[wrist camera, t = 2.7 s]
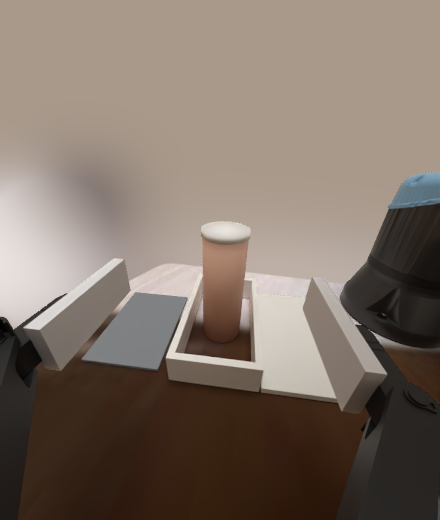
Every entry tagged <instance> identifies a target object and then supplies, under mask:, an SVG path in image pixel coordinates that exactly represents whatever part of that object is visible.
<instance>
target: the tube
mask: <svg viewBox="0 0 440 520" xmlns="http://www.w3.org/2000/svg"><path fill="white" fill-rule="evenodd" d="M250 234H251V229H250V228H249V227H248V226H246V225H244V224H240V223H236V222H227V221H219V222H211V223H208V224H205V225H203V226H202V227H201V236H202V238H203V317H204V333H205V335H206V336H207V338H209V339H210V340H212V341H214V342H217V343H227V342H230V341H232V340H234V339H235V338H236V337H237V335H238V333H239V325H240V316H241V307H242V297H243V288H244V278H245V269H246V259H247V250H248V240H249V239H250Z"/></svg>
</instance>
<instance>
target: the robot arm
mask: <svg viewBox="0 0 440 520" xmlns="http://www.w3.org/2000/svg"><path fill="white" fill-rule="evenodd" d="M388 208H389V210H388V212H387V215H386V217H385V220H384V222H383V224H382V227H381V229H380V232H379V234H378V236H377V239H376V241H375V243H374V246H373V248H372V250H371V253H370V255H369V257H368V259H367V262H366V263H365V264H364V265H363V266H362V267H361V268H360V270H359V271H358V272H357V273H356V274H355V275H354V276H353V277H352V278H351V279H350V280H349V281H348V282H347V283H346V284H345V286H344V288H343V290H342V293H341V296H340V298H341V302H342V304H343V306H344V307H343V306H342V304H341V303H340V301H339V300H338V298H337V297H336V295H335V294H334V292H333V291H332V289H331V288H330V286H329V285H328V283H327V282H326V280H325V279H324V278H319V277H312V279H311V282H310V286H309V289H308V292H307V295H306V299H305V302H304V305H303V312H304V314H305V317H306V319H307V322H308V325H309V327H310V330H311V333H312V335H313V338H314V341H315V343H316V346H317V348H318V351H319V354H320V356H321V359H322V362H323V364H324V367H325V369H326V372H327V375H328V377H329V380H330V383H331V385H332V388H333V391H334V393H335V396H336V398H337V401H338V404H339V406H340V409H341V412H348V413H355V414H361V412H362V411H363V409H364V408H365V407H366V409H367V411H368V413H369V415H370V418H369V419H368V421H367V422H366V423H365V425H364V426H363V427H362V429H361V430H362V431H363V432H364V433H363V436H362V439H361V442H360V445H359V448H358V451H357V454H356V457H355V460H354V463H353V466H352V469H351V472H350V475H349V478H348V481H347V484H346V487H345V490H344V493H343V496H342V499H341V502H340V505H339V508H338V511H337V514H336V517H335V520H438V499H440V405H439V404H437V403H436V401H435V400H434V399H433V398H432V397H431V396H430V395H429V394H428V393H427V392H425V391H424V390H422V389H421V388H420V387H418V386H416V385H414V384H412V383H409V382H408V381H407V380H406V378H405V377H404V376H403V374H402V373H401V371H400V370H399V369H398V367H397V366H396V365H395V363H394V362H393V360H392V359H391V358H390V356H389V355H388V354H387V352H385V350H384V348H383V347H382V345H381V344H379V341H378V340H377V339H376V337H375V336H374V334H373V333H372V332H370V331H369V330H368V329H367V328H369V329H371V330H373V331H374V332H376V333H378V334H380V335H382V336H385V337H387V338H389V339H392V340H394V341H397V342H400V343H404V344H407V345H412V346H417V347H438V346H440V172H435V173H421V174H416V175H413V176H411V177H409V178H407V179H406V180H405V181H404V182H403V183H402V184H401V185H400V188H399V189H398V191H397V193H396V195H395V197H394V199H393V201H392V203H391V204H390V205H389V206H388ZM130 291H131V290H130V285H129V281H128V276H127V271H126V266H125V261H124V259H115V258H114V259H113V260H111V261H110V262H109V263H107V264H106V265H105V266H104V267H102V268H101V269H100V270H98V271H97V272H96V273H94V274H93V275H92V276H90V277H89V278H88V279H86V280H85V281H84V282H82V283H81V284H80V285H78V286H77V287H76V288H75V289H73V290H72V291H71V292H69V293H67V294H64V295H62V296H60V297H58V298H56V299H55V300H53V301H52V302H51V303H49V304H48V305H47V306H45V307H44V308H42V309H41V310H40V311H38V312H37V313H36V314H34V315H33V316H31V317H30V318H29V319H27V320H26V321H25V322H23V323H22V324H21V325H19V326H18V327H17V328H15V329H14V330H13V328H12V326H11V325H10V323H9V322H8V320H7V319H6V318H4V317H0V520H17V519H18V512H19V505H20V498H21V490H22V483H23V476H24V469H25V461H26V454H27V447H28V440H29V432H30V425H31V418H32V411H33V404H34V396H35V389H36V382H37V375H38V371H37V368H36V366H37V365H38V364H39V363H40V362H41V361H42V362H43V364H44V365H45V367H46V369H51V370H58V371H61V370H62V369H63V368H64V367H65V366H66V364H67V363H68V362H69V361H70V360H71V359H72V357H73V356H74V355H75V354H76V353H77V352H78V351H79V349H80V348H81V347H82V346H83V345H84V344H85V342H86V341H87V340H88V339H89V338H90V337H91V336H92V334H93V333H94V332H95V331H96V330H97V329H98V327H99V326H100V325H101V324H102V323H103V322H104V321H105V319H106V318H107V317H108V316H109V315H110V314H111V312H112V311H113V310H114V309H115V308H116V307H117V306H118V304H119V303H120V302H121V301H122V300H123V299H124V298H125V296H126V295H127V294H128V293H129V292H130ZM344 308H345V309H346V310H347V312H348V313H349V314H350V315H351V316H352V317H354V318H355V319H356V320H357V321H359V322H360V323H361V324H363V325H364V326H366V327H367V328H366V327H364V326H363V325H355V324H354V323H353V321H352V320H351V318H350V317H349V315H348V314H347V312H346V311H345V309H344Z"/></svg>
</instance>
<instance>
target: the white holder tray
mask: <svg viewBox="0 0 440 520" xmlns="http://www.w3.org/2000/svg"><path fill="white" fill-rule="evenodd" d="M202 295H203V274H199V275H198V278H197V280H196V283H195V285H194V288H193V290H192V293H191V295H190V298H189V300H188V303H187V305H186V308H185V311H184V313H183V316H182V318H181V321H180V323H179V326H178V328H177V331H176V333H175V336H174V338H173V341H172V343H171V346H170V348H169V351H168V353H167V356H166V363H167V370H168V377H169V380H174V381H181V382H188V383H196V384H203V385H210V386H218V387H225V388H232V389H239V390H247V391H254V392H259V390H260V389H261V393H268V394H276V395H283V396H290V397H297V398H305V399H312V400H319V401H326V402H334V403H338V401H337V398H336V396H335V393H334V391H333V388H332V385H331V383H330V380H329V377H328V375H327V372H326V369H325V367H324V364H323V362H322V359H321V356H320V354H319V351H318V348H317V346H316V343H315V341H314V338H313V335H312V333H311V330H310V327H309V325H308V322H307V319H306V317H305V314H304V312H303V305H304V302H305V299H306V298H303V297H293V296H282V295H272V294H261V293H257V283H256V279H253V278H244V288H243V297H242V298H250V335H251V362H247V361H239V360H231V359H223V358H215V357H207V356H199V355H191V354H184V352H185V349H186V346H187V342H188V339H189V336H190V333H191V330H192V326H193V323H194V320H195V317H196V314H197V311H198V307H199V304H200V301H201V298H202Z"/></svg>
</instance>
